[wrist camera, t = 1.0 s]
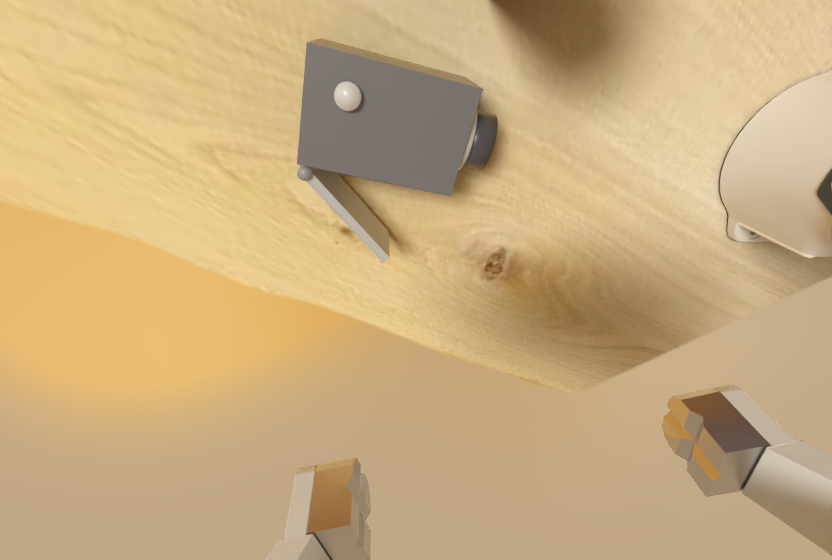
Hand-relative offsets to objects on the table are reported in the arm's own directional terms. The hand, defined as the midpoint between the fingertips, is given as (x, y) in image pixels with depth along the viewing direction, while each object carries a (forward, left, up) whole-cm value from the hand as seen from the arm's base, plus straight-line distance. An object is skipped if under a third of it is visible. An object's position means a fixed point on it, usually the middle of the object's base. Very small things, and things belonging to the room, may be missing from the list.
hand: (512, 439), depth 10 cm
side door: (+5, +6, -30) cm, 31 cm away
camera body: (+2, -2, -31) cm, 31 cm away
